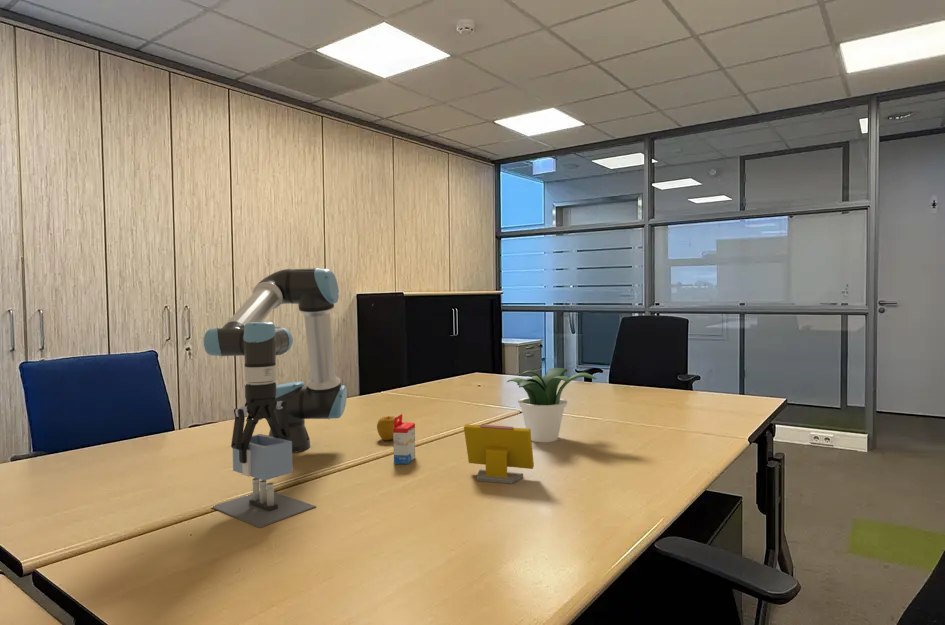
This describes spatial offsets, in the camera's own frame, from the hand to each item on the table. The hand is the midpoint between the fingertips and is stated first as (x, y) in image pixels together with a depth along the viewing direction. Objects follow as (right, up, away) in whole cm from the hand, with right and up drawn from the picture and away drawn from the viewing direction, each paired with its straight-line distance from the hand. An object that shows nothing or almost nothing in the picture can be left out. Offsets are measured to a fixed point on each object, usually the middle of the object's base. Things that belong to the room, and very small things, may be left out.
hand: (262, 470), depth 145 cm
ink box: (+32, -8, +40) cm, 52 cm away
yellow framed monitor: (+61, -8, +22) cm, 66 cm away
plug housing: (0, 0, 0) cm, 0 cm away
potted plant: (+83, -7, +67) cm, 107 cm away
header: (0, -10, 0) cm, 10 cm away
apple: (+22, -7, +68) cm, 72 cm away
